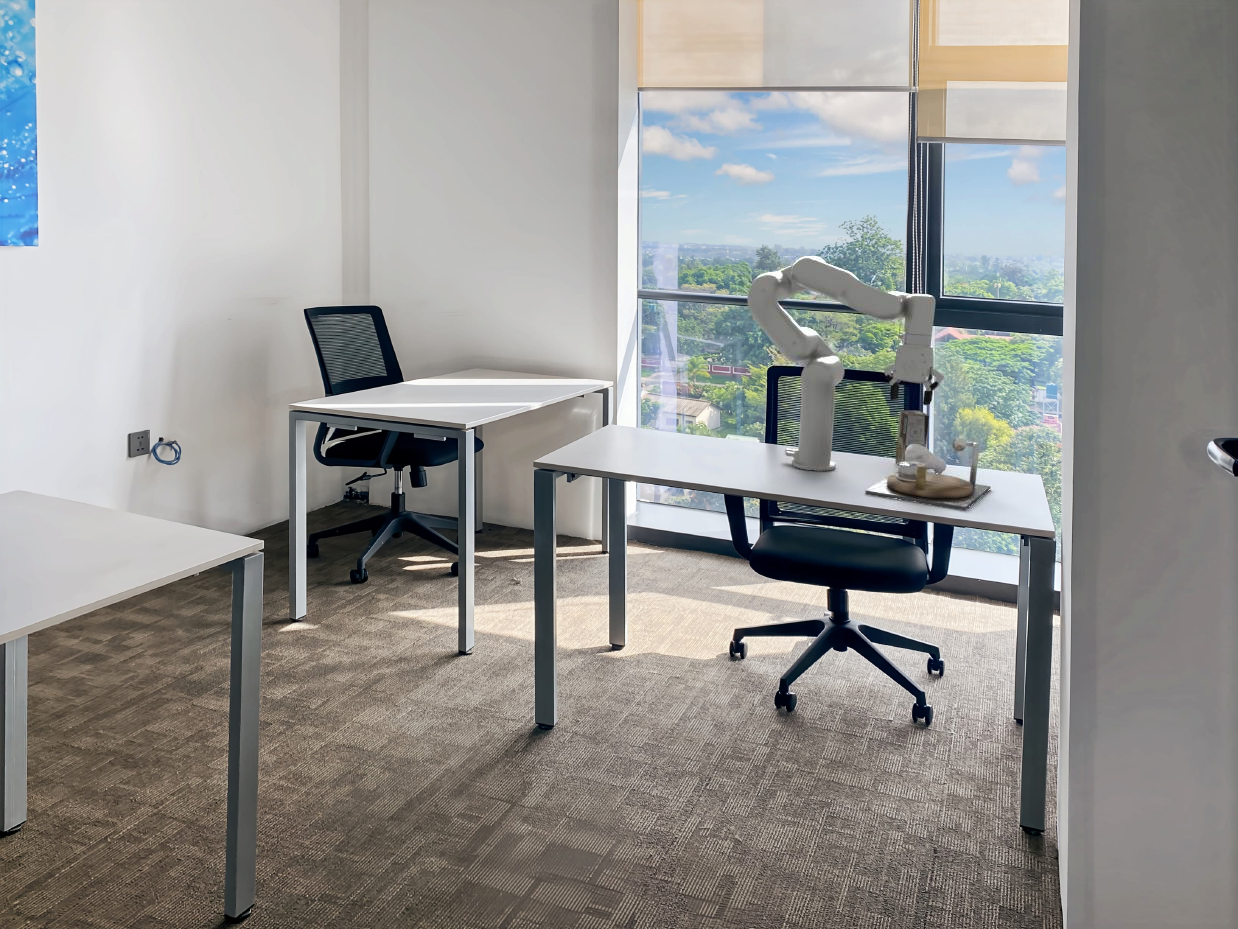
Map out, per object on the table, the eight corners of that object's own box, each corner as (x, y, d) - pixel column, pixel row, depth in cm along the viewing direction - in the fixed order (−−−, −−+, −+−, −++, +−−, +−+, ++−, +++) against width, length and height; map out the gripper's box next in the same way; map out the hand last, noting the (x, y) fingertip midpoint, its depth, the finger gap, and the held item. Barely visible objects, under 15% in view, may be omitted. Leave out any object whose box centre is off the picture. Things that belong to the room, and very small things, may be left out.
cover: (892, 479, 280) (893, 464, 279) (901, 473, 286) (902, 459, 285) (921, 484, 276) (922, 468, 275) (929, 478, 282) (931, 463, 281)
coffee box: (924, 470, 304) (930, 415, 300) (902, 469, 304) (907, 415, 300) (915, 463, 312) (920, 410, 309) (894, 462, 312) (899, 409, 309)
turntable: (875, 488, 275) (878, 461, 274) (901, 473, 293) (903, 447, 292) (960, 502, 264) (963, 474, 262) (981, 485, 282) (984, 458, 280)
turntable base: (865, 494, 275) (869, 441, 272) (896, 475, 296) (900, 425, 293) (965, 510, 262) (971, 455, 258) (990, 489, 283) (996, 438, 280)
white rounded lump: (905, 440, 301) (947, 446, 300) (899, 469, 303) (941, 475, 302) (909, 445, 294) (952, 451, 294) (903, 474, 297) (946, 480, 296)
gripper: (881, 337, 287) (875, 398, 291) (940, 344, 276) (933, 408, 280) (894, 335, 293) (888, 396, 297) (952, 342, 282) (945, 405, 286)
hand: (910, 401), depth 288 cm, fingers open, 9 cm apart
